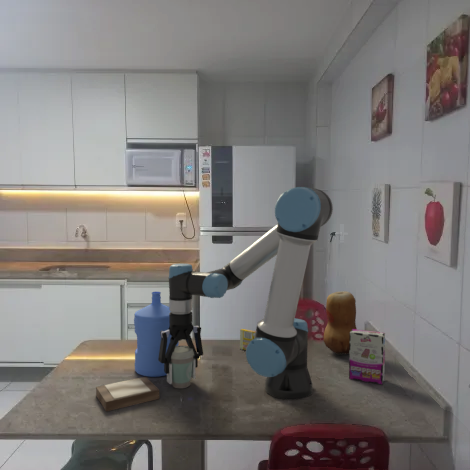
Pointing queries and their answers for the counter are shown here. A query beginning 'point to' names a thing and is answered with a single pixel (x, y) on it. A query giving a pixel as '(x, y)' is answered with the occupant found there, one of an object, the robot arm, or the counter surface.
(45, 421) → the counter surface
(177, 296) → the robot arm
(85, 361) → the counter surface
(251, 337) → the candy box
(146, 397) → the walnut plinth
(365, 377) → the candy bar box
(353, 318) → the butternut squash
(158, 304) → the water jug
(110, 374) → the counter surface
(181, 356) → the coffee cup
